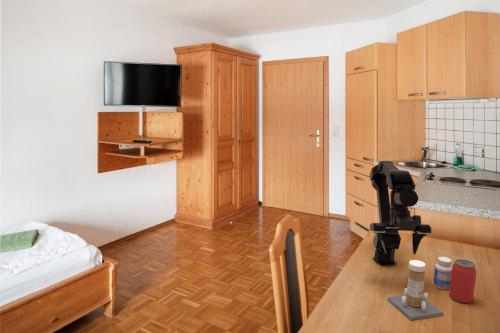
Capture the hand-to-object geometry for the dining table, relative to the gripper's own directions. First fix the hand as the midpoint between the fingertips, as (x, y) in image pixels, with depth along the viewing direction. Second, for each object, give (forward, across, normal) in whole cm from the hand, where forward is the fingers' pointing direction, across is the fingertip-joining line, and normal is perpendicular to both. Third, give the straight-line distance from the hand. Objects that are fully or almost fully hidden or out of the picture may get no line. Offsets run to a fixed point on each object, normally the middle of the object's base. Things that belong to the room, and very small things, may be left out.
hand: (400, 253), depth 121 cm
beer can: (+13, +17, -4) cm, 22 cm away
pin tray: (+15, 0, -10) cm, 18 cm away
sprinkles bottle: (+14, 0, -10) cm, 17 cm away
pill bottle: (+11, +15, +4) cm, 19 cm away
